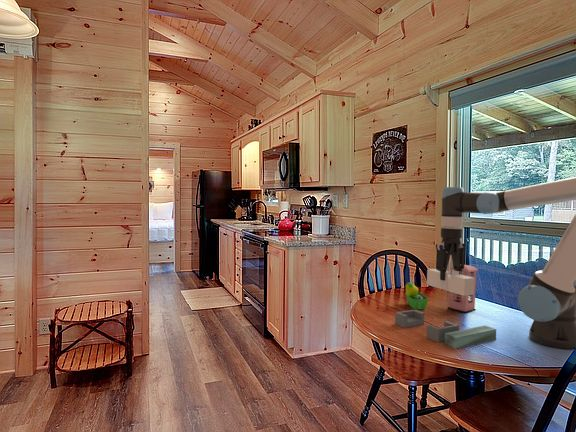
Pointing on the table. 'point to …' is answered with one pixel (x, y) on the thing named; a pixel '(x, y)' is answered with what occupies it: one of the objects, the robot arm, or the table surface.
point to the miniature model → (462, 301)
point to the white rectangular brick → (452, 282)
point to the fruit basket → (415, 297)
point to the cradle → (417, 318)
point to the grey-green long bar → (470, 336)
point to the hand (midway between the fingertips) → (449, 287)
